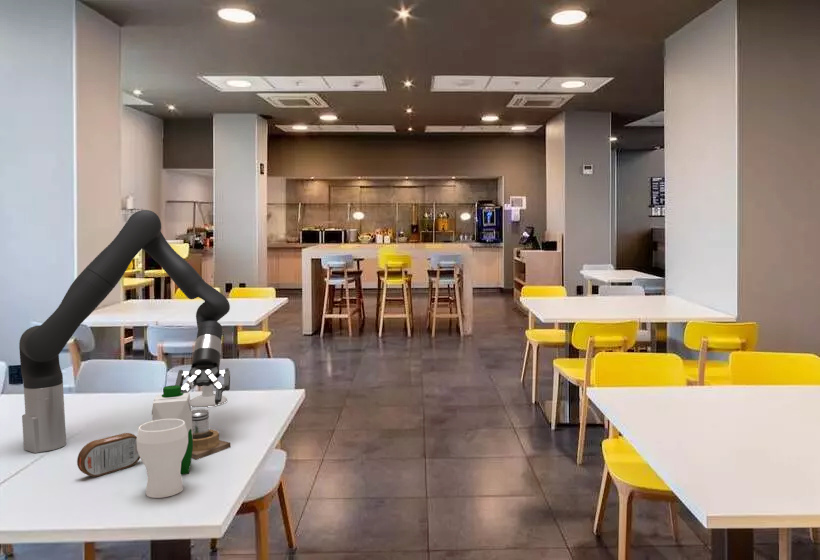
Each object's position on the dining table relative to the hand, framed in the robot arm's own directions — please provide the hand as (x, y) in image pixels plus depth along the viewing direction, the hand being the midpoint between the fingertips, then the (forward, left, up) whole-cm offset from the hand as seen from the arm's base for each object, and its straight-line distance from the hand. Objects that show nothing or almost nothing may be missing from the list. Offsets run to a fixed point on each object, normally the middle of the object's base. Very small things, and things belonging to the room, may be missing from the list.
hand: (200, 403), depth 165 cm
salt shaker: (-2, -2, -10) cm, 11 cm away
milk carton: (-15, -9, -12) cm, 21 cm away
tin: (-23, +4, -12) cm, 26 cm away
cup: (-24, -18, -12) cm, 32 cm away
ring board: (-2, -2, -12) cm, 12 cm away
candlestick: (+31, +36, -12) cm, 49 cm away
